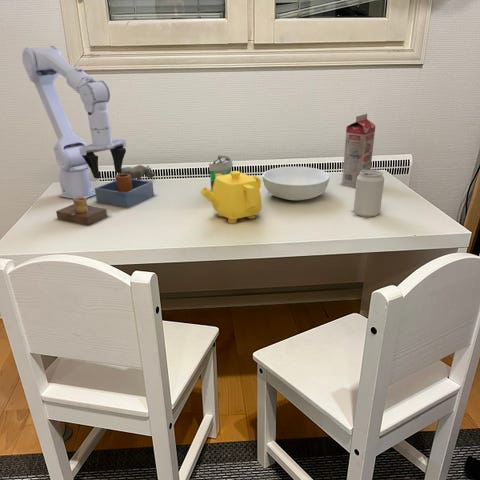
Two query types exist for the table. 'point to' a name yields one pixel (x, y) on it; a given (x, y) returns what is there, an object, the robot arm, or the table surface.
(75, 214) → the panel
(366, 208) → the can
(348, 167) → the juice carton
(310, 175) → the serving bowl
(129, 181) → the jar
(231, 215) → the teapot
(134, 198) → the blue open tray
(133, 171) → the rhino figurine
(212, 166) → the grey green irregular piece
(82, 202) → the tap knob
